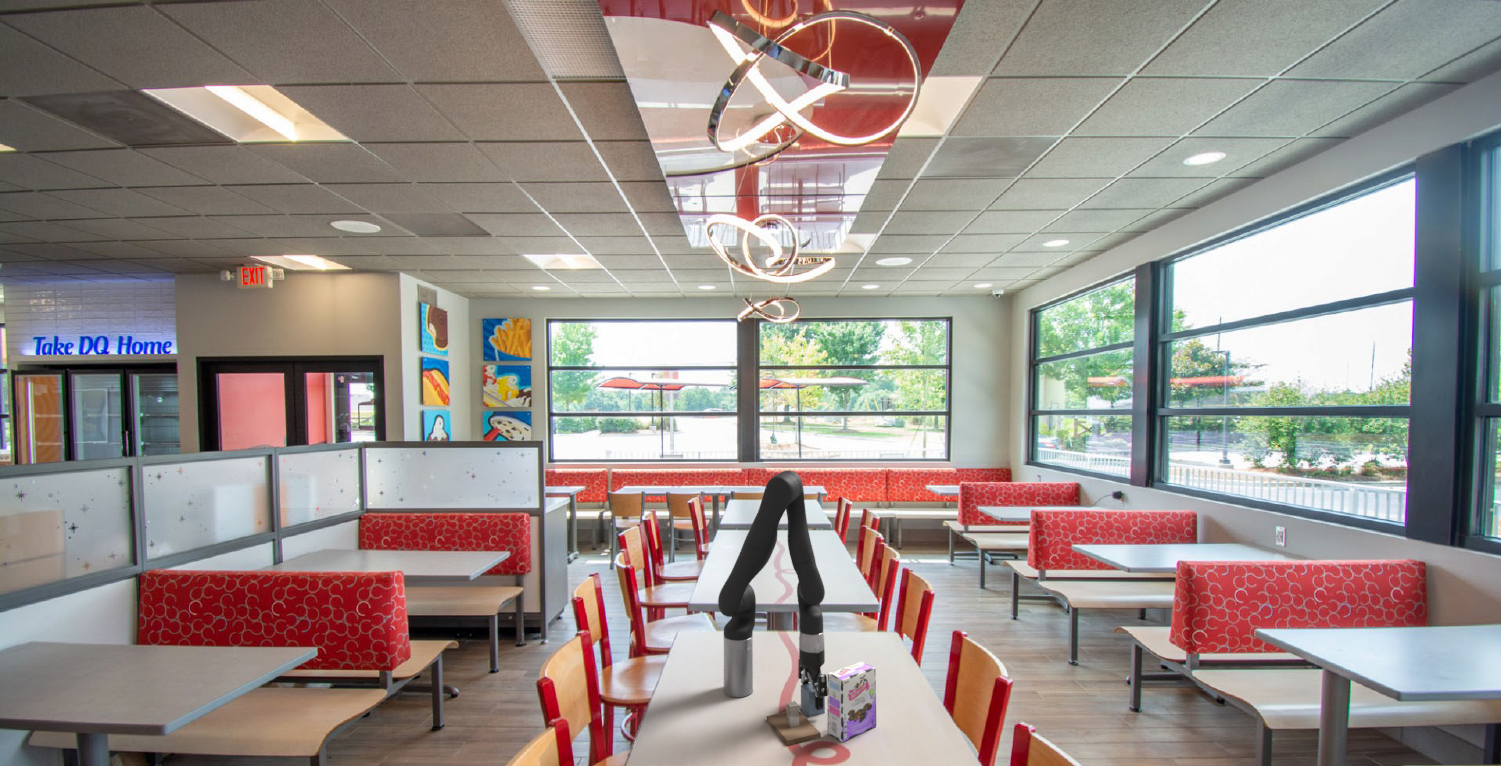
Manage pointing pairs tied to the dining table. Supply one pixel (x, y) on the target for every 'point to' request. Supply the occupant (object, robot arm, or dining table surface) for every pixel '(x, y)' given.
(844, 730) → the candy box
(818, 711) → the blue-gray block
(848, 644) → the dining table surface
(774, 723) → the post stand
